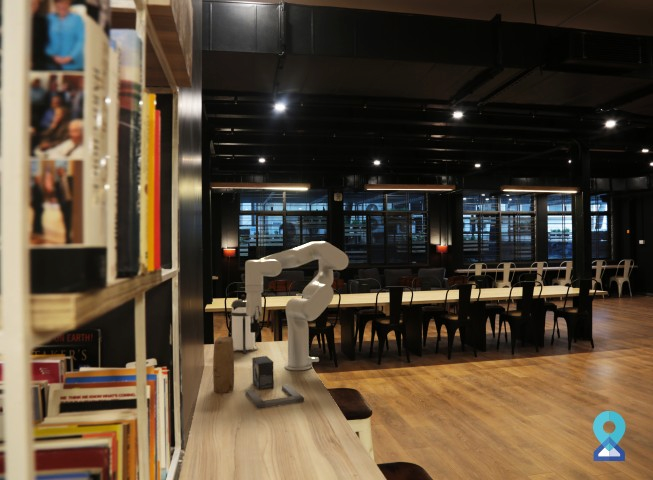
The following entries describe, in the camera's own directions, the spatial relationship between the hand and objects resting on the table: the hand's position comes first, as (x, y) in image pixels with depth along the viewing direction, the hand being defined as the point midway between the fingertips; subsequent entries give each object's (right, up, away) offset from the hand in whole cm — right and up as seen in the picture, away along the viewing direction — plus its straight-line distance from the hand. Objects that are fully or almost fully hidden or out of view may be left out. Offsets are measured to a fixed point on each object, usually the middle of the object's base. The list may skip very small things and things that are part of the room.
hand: (254, 332), depth 191 cm
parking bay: (+12, -18, -28) cm, 35 cm away
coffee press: (-13, -20, +50) cm, 56 cm away
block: (-9, -19, -17) cm, 27 cm away
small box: (+5, -19, -12) cm, 23 cm away
